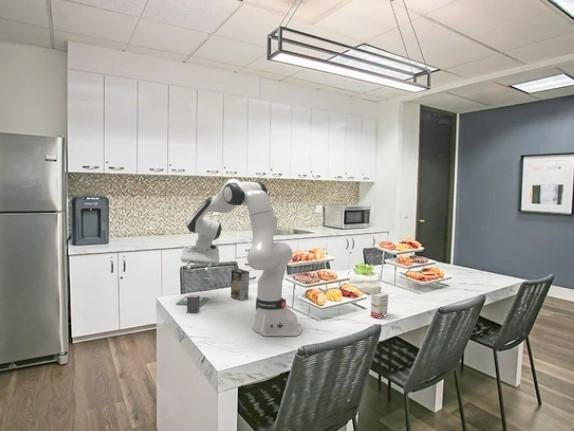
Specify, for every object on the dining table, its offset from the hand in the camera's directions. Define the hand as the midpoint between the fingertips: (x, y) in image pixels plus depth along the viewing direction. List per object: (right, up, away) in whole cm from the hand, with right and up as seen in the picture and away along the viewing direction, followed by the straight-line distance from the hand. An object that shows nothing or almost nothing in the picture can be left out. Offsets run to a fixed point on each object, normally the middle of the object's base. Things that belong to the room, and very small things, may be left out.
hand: (197, 270), depth 195 cm
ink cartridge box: (+95, -23, -5) cm, 98 cm away
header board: (-4, -18, +8) cm, 21 cm away
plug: (0, -20, -8) cm, 22 cm away
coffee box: (+20, -19, +18) cm, 33 cm away
